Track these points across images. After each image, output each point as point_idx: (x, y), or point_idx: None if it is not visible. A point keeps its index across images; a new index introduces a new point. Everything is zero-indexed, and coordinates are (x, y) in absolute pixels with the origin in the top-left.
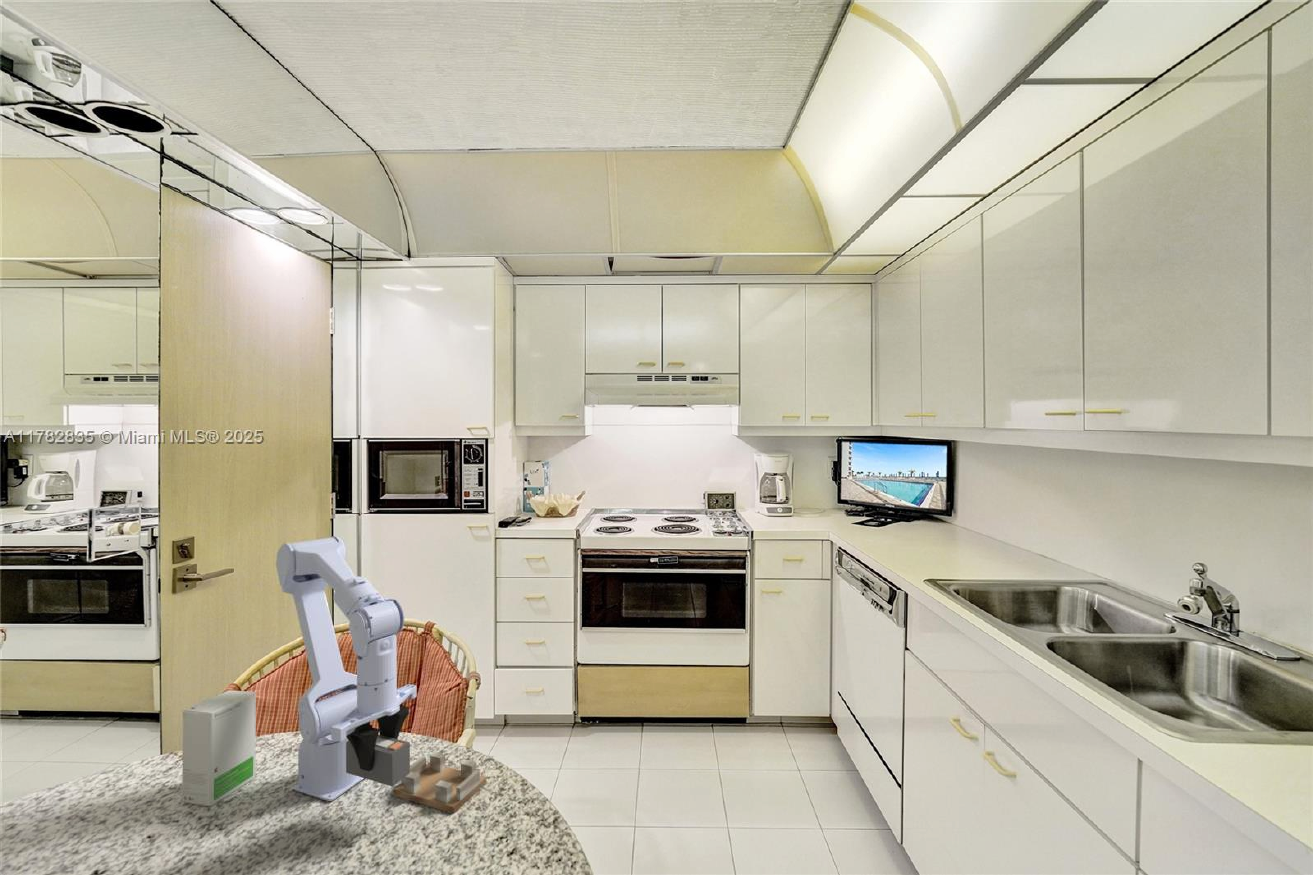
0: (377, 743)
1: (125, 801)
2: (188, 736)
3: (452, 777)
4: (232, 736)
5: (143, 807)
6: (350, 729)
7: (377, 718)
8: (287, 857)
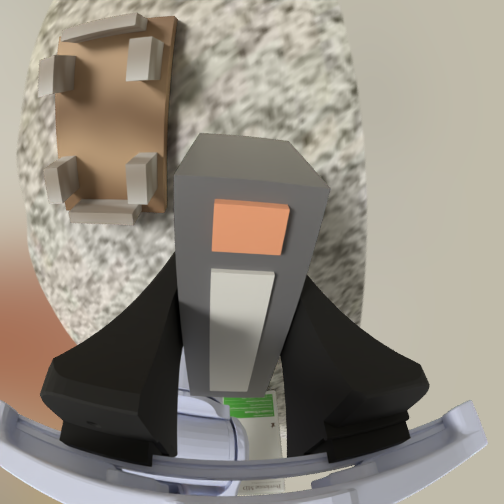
0: (253, 328)
1: (279, 421)
2: None
3: (79, 110)
4: (254, 454)
5: (283, 413)
6: (417, 443)
7: (375, 476)
8: (353, 261)
